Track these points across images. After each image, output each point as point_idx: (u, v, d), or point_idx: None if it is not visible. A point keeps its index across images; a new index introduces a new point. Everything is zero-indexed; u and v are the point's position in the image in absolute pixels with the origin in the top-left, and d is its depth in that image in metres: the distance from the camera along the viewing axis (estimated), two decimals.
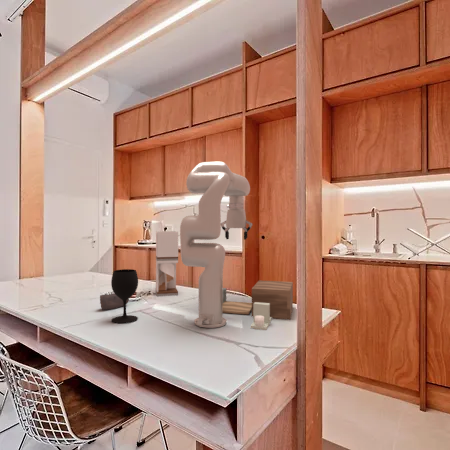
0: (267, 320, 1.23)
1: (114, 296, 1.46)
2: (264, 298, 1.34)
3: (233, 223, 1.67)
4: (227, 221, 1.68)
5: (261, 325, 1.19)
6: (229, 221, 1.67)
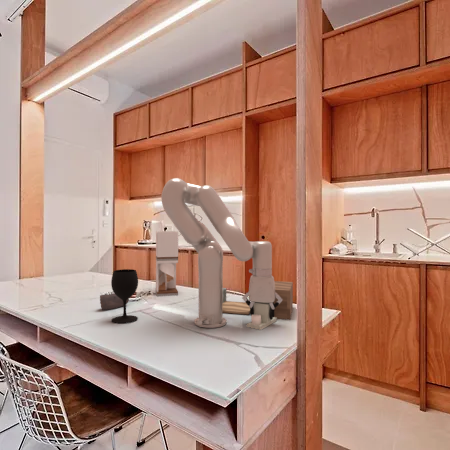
0: (266, 320, 1.23)
1: (114, 296, 1.46)
2: None
3: (258, 296, 1.23)
4: (250, 293, 1.24)
5: (256, 324, 1.20)
6: (253, 293, 1.24)
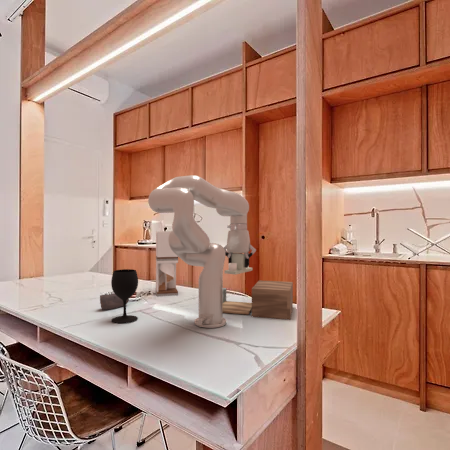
0: (241, 267, 1.42)
1: (114, 296, 1.46)
2: (264, 298, 1.34)
3: (235, 247, 1.42)
4: (228, 244, 1.43)
5: (232, 270, 1.39)
6: (230, 244, 1.43)
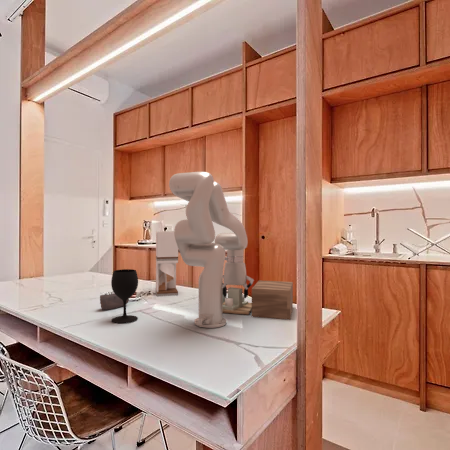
0: (238, 302, 1.45)
1: (114, 296, 1.46)
2: (264, 298, 1.34)
3: (231, 279, 1.45)
4: (225, 277, 1.46)
5: (229, 306, 1.41)
6: (227, 277, 1.45)
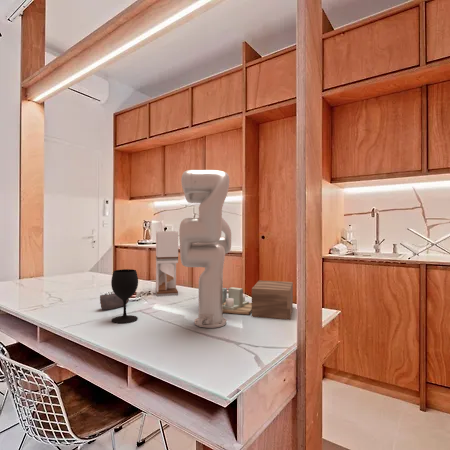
0: (238, 302, 1.44)
1: (114, 296, 1.46)
2: (264, 298, 1.34)
3: None
4: None
5: (229, 306, 1.41)
6: None
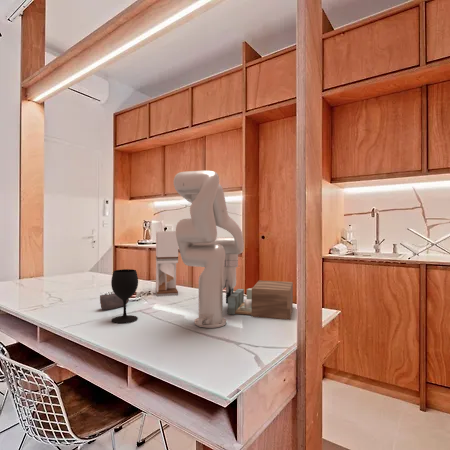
0: None
1: (114, 296, 1.46)
2: (264, 298, 1.34)
3: None
4: None
5: (249, 307, 1.39)
6: None
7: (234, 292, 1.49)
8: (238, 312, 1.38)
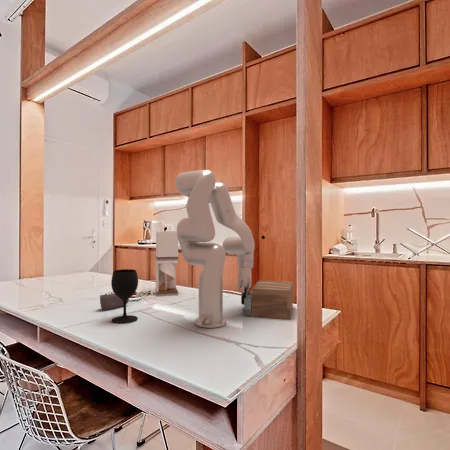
0: None
1: (114, 296, 1.46)
2: (264, 298, 1.34)
3: None
4: None
5: None
6: None
7: (249, 293, 1.47)
8: None
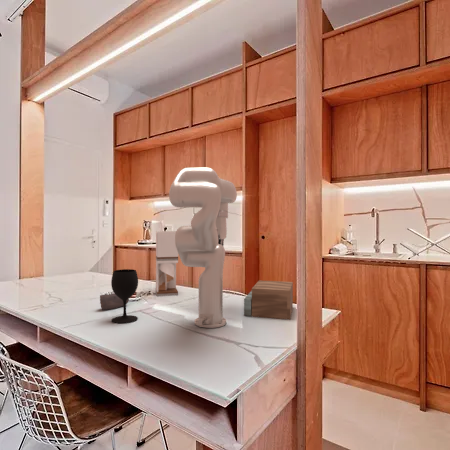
0: None
1: (114, 296, 1.46)
2: (264, 298, 1.34)
3: None
4: None
5: None
6: None
7: (249, 293, 1.47)
8: None
